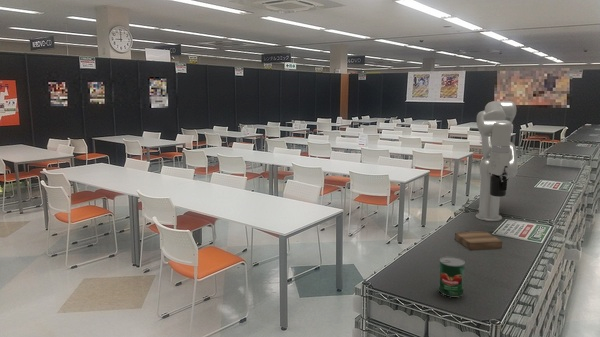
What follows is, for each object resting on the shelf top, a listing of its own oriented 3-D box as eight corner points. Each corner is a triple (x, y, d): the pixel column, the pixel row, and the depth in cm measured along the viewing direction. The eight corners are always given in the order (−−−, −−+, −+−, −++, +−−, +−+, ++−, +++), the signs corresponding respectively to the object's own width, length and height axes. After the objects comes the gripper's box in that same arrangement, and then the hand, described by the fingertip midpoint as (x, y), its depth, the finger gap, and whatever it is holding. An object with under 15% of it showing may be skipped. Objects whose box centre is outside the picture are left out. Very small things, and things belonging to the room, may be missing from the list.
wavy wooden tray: (454, 238, 188) (455, 232, 188) (484, 237, 190) (484, 231, 189) (470, 250, 175) (470, 243, 174) (501, 248, 176) (502, 241, 175)
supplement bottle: (502, 193, 193) (504, 167, 191) (508, 196, 187) (510, 170, 184) (487, 193, 194) (488, 168, 192) (492, 196, 187) (494, 170, 185)
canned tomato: (457, 286, 142) (459, 255, 140) (467, 297, 134) (469, 265, 132) (434, 287, 142) (435, 256, 140) (443, 298, 134) (444, 266, 132)
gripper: (482, 147, 195) (480, 184, 198) (503, 152, 178) (501, 193, 181) (497, 146, 195) (495, 183, 199) (520, 152, 178) (517, 192, 182)
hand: (498, 188), depth 190 cm, fingers closed on supplement bottle, 6 cm apart
